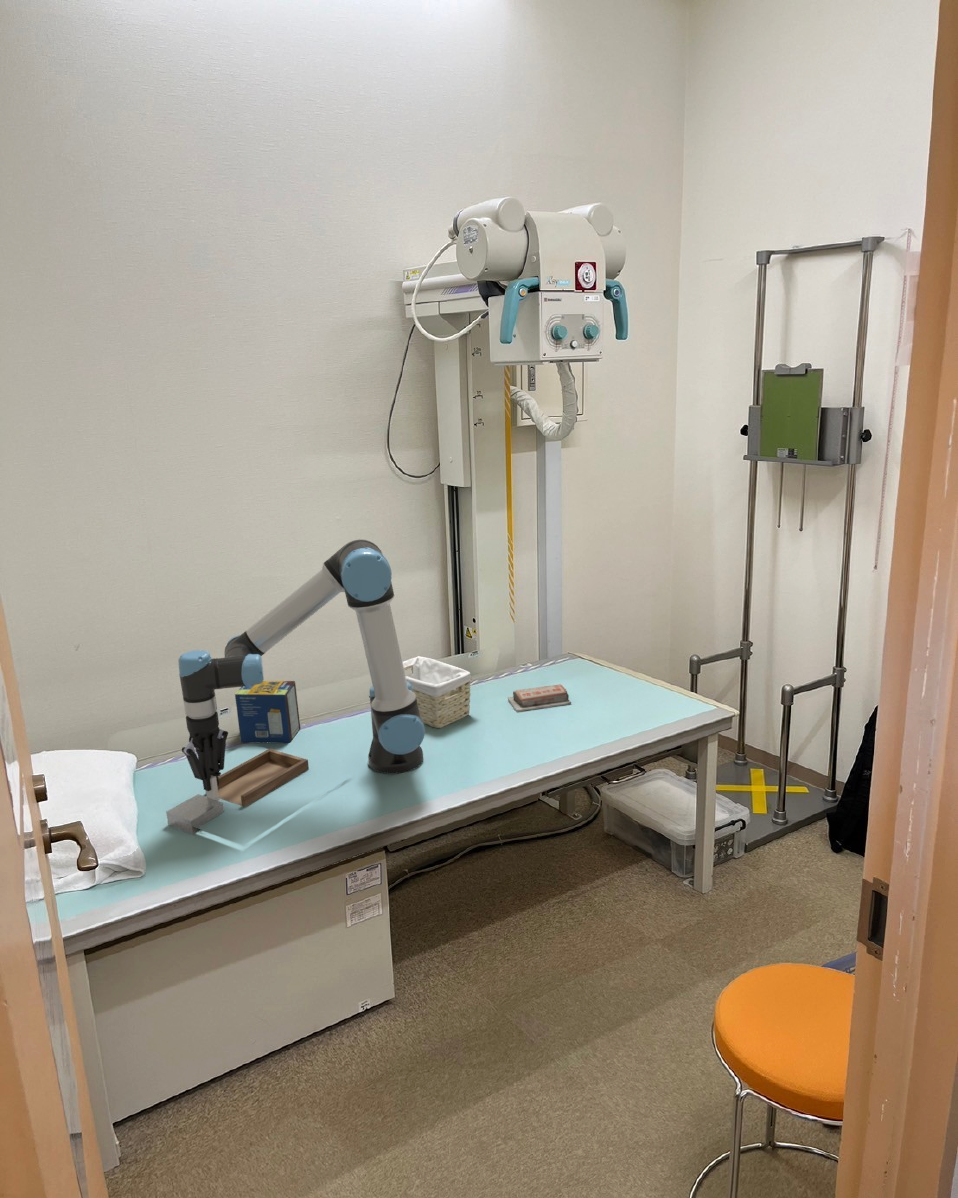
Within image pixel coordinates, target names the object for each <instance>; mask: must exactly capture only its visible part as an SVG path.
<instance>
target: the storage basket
mask: <svg viewBox="0 0 958 1198" xmlns="http://www.w3.org/2000/svg"><path fill="white" fill-rule="evenodd" d="M402 662H403V667H404V671H406V670H407V671H408V669H411V672H412V673H411V674H409V675H405V676H406V681H407V682H409V683H411V685H412V689H413V692H414V693H415V695H416V699H417V704H418V708H419V713H420V717H421V720H422V722H423V723H424V725H428V726H430V727H433V728H435V729H442V728H444V727H446V726H448V725H450V724H453V723H455V722H456V721H459V720H461V719H464V718H465V717H467V716H468V715H469V714H470V709H471V707H470V706H471V705H470V703H471V699H470V698H471V681H472V680H473V678H472V677H473V676H472V675H471V672H470V671H468V670H465V669H463V668H460V667H457V666H455V665H452V664H448V663H445V662H442V661H439V660H437V659H434V658H430V657H425V656H421V655H420V656H419V655H417V656H416V657H412V658H409V659H407V660H404V661H402Z"/></svg>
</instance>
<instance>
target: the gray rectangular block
mask: <svg viewBox="0 0 958 1198" xmlns="http://www.w3.org/2000/svg"><path fill="white" fill-rule="evenodd" d="M224 813H225V809H224V803H223V802H222V801H219V800H218V801H217V800H214V799H211V798H208V797H207V796H205V795H202V794H196V795H194V796H193V797H191V798H189V799H187V800H185V801H183V802H181V803H180V804H177V805H175V806H174V807H172V808H171V809H169V810H166V820H167V826H170V827H172V828H174V829H176V830H179V831H182V832H185V833H187V834H190V835H196V834H197V833H199V832H200V831H202V829H200V828H199V827H201V826H203V825H204V824H206V823H207V822H209V821H210V820H213V819H215V818H217V816H220V815H222V814H224Z"/></svg>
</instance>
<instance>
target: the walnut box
mask: <svg viewBox="0 0 958 1198" xmlns="http://www.w3.org/2000/svg"><path fill="white" fill-rule="evenodd" d="M306 771H309V760H308V759H307V758H303V757H300V756H297V755H292V754H289V753H285V752H283V751H278V750H276V749H275V750H274V749H272V748H268V749H266V750H265V751H262V752H260V753H259V754H257V755H255V756H254V757H252V758H250V759H248V760H246V761H244V762H242V763H241V764H239V765H237V766H235V767H233V768H232V769H230V770H227V771H226V772H223V773H221V775H220V776H218V779H219V786H217V787H218V795H219V800H220V799H221V800H224V801H226V802H230V803H232V804H235V805H239V806H242V807H245V808H246V807H248V806H249V805H251V804H253V803H254V802H256V801H258V800H260V799H261V798H263V797H265V796H266V795H268V794H270V793H271V792H273V791H275V790H277V789H278V788H280V787H281V786H283V785H285V784H286V783H288V782H290V781H291V780H293V779H295V778H297V777H298V776H300V775H302V774H303V773H305V772H306Z"/></svg>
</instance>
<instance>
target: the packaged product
mask: <svg viewBox="0 0 958 1198" xmlns="http://www.w3.org/2000/svg"><path fill="white" fill-rule="evenodd" d="M568 693H569V692H568V690H567V689H566V688H565V687H564V685H562V684H553V685H546V686H545V685H544V686H539V687H531V688H524V689H516V690H514V691H513V692H512V696H508V697H507V699H508V703H509V704H510V706H511V708H512V709H513V710H514V711H515V712H517V713H520V712H526V711H532V710H533V711H535V710H541V709H548V708H555V707H560V706H567V705H568V706H569V705H571V704H572V702H571V700H569V699H570V698H569V697H570V695H569V694H568Z"/></svg>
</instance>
